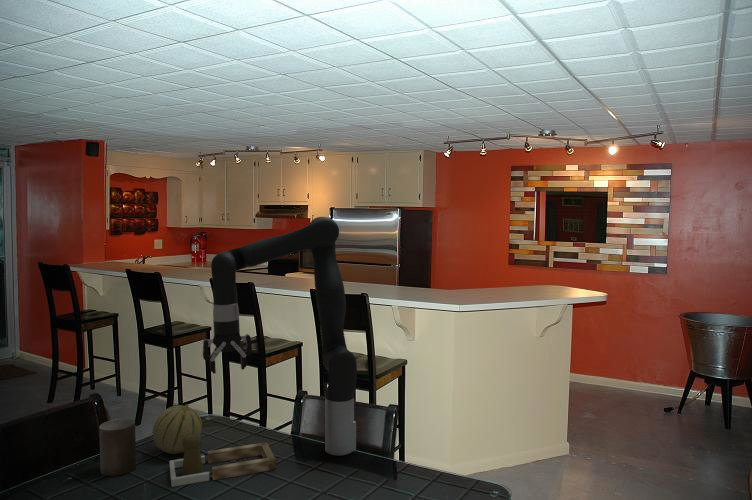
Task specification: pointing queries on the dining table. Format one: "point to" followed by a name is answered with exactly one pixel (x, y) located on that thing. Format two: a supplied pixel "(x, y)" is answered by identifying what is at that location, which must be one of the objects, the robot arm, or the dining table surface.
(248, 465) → the oak channel
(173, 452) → the cantaloupe
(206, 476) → the grey u-shaped staple
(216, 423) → the dining table surface
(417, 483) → the dining table surface
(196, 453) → the olive gourd
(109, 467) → the pillar candle
